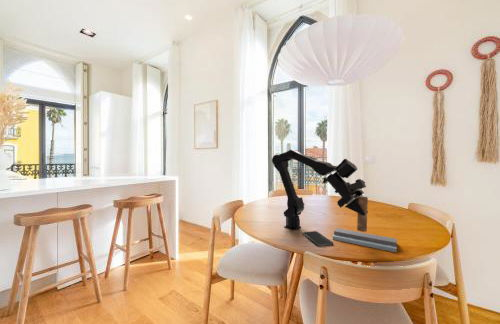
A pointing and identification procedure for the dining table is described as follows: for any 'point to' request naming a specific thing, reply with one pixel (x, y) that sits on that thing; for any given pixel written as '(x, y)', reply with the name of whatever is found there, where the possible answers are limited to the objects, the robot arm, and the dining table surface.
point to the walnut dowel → (362, 219)
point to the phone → (317, 238)
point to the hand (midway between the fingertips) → (365, 214)
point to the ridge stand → (366, 239)
